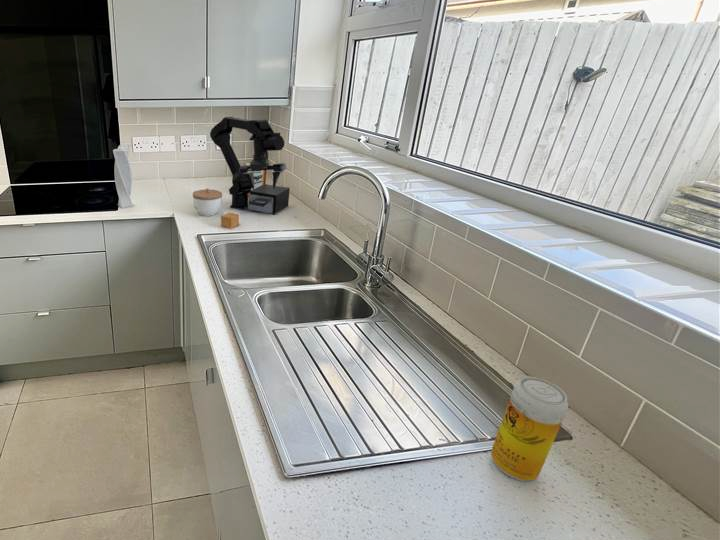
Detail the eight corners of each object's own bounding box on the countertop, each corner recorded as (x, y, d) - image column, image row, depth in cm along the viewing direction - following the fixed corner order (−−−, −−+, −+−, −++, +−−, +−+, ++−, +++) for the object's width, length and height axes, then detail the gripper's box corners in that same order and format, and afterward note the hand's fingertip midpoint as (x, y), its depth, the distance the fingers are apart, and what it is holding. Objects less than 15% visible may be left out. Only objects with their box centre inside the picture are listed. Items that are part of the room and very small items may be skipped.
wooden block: (220, 226, 161) (220, 216, 159) (228, 222, 166) (228, 212, 164) (231, 228, 159) (231, 218, 157) (238, 224, 163) (239, 214, 162)
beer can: (480, 450, 65) (506, 376, 59) (515, 447, 66) (544, 373, 60) (509, 485, 59) (541, 407, 54) (548, 482, 60) (583, 404, 54)
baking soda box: (246, 197, 199) (247, 165, 193) (243, 194, 205) (244, 162, 199) (264, 197, 200) (266, 164, 194) (261, 193, 206) (262, 162, 200)
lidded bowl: (192, 209, 182) (191, 185, 178) (220, 208, 183) (220, 184, 179) (193, 218, 170) (193, 193, 166) (223, 217, 171) (224, 192, 167)
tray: (267, 216, 170) (268, 200, 167) (243, 211, 176) (244, 196, 173) (284, 205, 184) (285, 191, 181) (261, 201, 190) (262, 187, 187)
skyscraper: (130, 202, 192) (125, 142, 182) (137, 205, 187) (132, 144, 176) (114, 204, 188) (109, 143, 178) (121, 208, 182) (115, 146, 172)
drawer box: (275, 214, 175) (276, 195, 172) (249, 209, 181) (249, 190, 178) (288, 205, 186) (289, 187, 183) (263, 201, 193) (264, 184, 189)
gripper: (232, 154, 164) (236, 192, 168) (277, 151, 156) (279, 191, 160) (242, 152, 174) (245, 188, 178) (285, 148, 165) (287, 186, 169)
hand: (263, 188), depth 171 cm, fingers open, 9 cm apart
